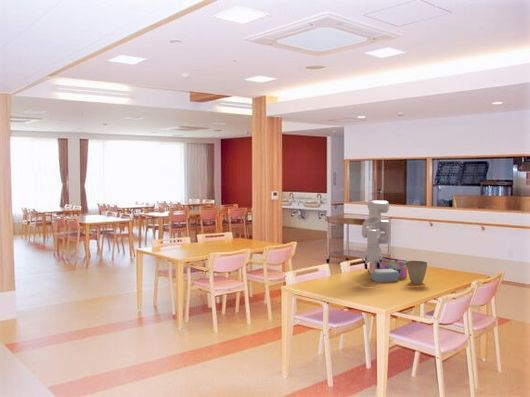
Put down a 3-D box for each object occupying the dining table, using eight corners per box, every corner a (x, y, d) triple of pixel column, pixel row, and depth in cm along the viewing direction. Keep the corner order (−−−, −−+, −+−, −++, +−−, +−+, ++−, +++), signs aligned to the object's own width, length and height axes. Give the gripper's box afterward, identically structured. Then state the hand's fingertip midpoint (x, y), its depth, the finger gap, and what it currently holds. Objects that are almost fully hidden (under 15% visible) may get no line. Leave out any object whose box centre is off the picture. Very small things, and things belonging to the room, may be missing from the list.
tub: (370, 280, 384) (370, 270, 384) (391, 279, 388) (391, 270, 388) (376, 283, 374) (377, 273, 373) (397, 282, 377) (398, 272, 377)
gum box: (375, 274, 406) (376, 257, 405) (381, 273, 411) (381, 256, 410) (401, 279, 388) (401, 261, 387) (407, 277, 393) (407, 260, 392)
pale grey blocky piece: (367, 272, 383) (367, 262, 383) (391, 271, 388) (391, 261, 387) (373, 275, 373) (374, 264, 372) (398, 273, 377) (398, 263, 377)
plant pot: (428, 282, 375) (429, 261, 375) (424, 286, 362) (425, 264, 361) (408, 280, 382) (408, 259, 382) (403, 284, 369) (404, 262, 368)
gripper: (380, 245, 383) (380, 267, 384) (359, 245, 379) (359, 268, 380) (385, 246, 375) (384, 269, 376) (363, 247, 372) (363, 270, 373)
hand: (372, 268), depth 378 cm, fingers open, 9 cm apart
